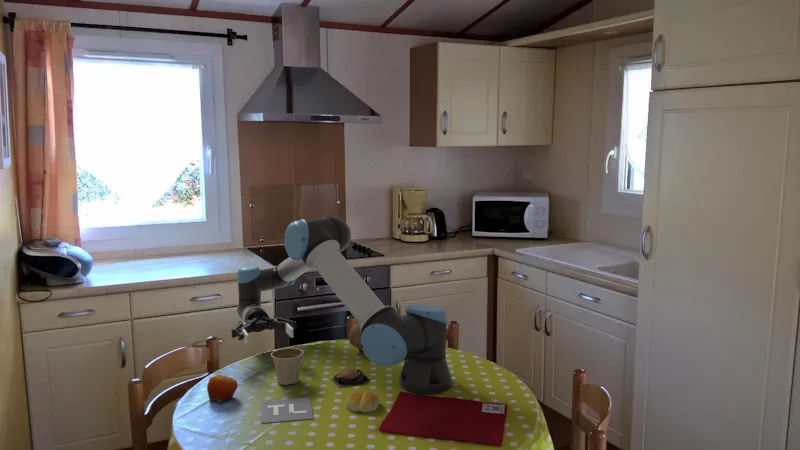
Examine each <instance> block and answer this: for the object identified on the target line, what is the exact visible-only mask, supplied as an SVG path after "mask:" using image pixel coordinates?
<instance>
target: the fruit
mask: <svg viewBox="0 0 800 450" xmlns="http://www.w3.org/2000/svg"><path fill="white" fill-rule="evenodd" d="M238 386H239V384H238V381H237V380H236V379H234V378H233V377H231V376H227V375H223V374H216V375H214V376H211V377H210V378H209V379H208V381H207V385H206V391H207V395H208V399H209V402H212V401H216V402H218V403H219V405H220V406H222V405H221V404H222V402H225V401H229V400H230V399H232V397H233V396H234V395H235V392H236V391H237V389H238Z"/></svg>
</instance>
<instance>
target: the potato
mask: <svg viewBox="0 0 800 450" xmlns="http://www.w3.org/2000/svg"><path fill="white" fill-rule="evenodd" d="M360 328H361V325H360V324H359V323H358V322H357V323H356V324H354V325H353V326H352V327H351V328H350V330H349V332H348V341H349V343H350V345H351V346H353V347H355V348H357V349H358V350H359V351H361V352H364V351H363V349H362V348H363V345H362V344H361V336H362V335H361V334H360Z"/></svg>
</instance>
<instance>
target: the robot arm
mask: <svg viewBox="0 0 800 450" xmlns="http://www.w3.org/2000/svg"><path fill="white" fill-rule="evenodd" d="M351 239H352V233H351V229H350V226H349V225H348V223H347V222H346V221H345V220H344V219H341V218H340V217H338V216H324V217H316V218H306V219H303V218H302V219H299V220H295V221H292V222H291V223H290V224H288V226H287V228H286V231H285V233H284V248H285V251H286V253H287V255H288V257H287V258H286V259H284V260H283V261H282V262H280V263H279V264H277V266H275V267H270V268H266V269H265V268H264V269H260V267H259V266H257V265H245V266H240V267H239V268H238V269H237V279H236V280H237V287H238V288H237V289H238V290H237V291H238V304H237V307H236V310H237V314H238V316H239V318H240V319H241V320H238V321H237V323H236V325H234V326H233V328H232V329H231V338H232V339H235V338H237V341H242V340H243V342H244V343H245V345H249V344H250V338H249V337H250V335H249V334H250V333H260V332H264V331H265V330H270V331H272V330H280V331H285V332H286V334H287V335H288V336H289V338H291V339H292V338H295V337H294V332H295V331H296V330H297V321H294V320H291V319H287V318H284V317H281V316H276V317H275V319H274V318H271V317H270V315H269V314H268V313H267V312H266V310H264V308H263V307H262V299H261V298H262V292H266V291H271V290H276V289H281V288H287V287H289V286H292V285H294V284H296V281H297V278H299V277H301V275H303V274H305V273H306V272H308V271H309V270H316V271H317V272H318V273H319V275H320V276H321V278H323V281H325V282H326V283H327V285H328V286H329V288H330V289H331V290H332V291H333V292H334V294H335V295H336V296H337V298H339V300H340V301H341V302H342V304H343V305H344V306H345V308H346V309H347V310H348V311H349V312H350V314H351V315H352V316H353V317H354V319H355V320H356V321H357V323H359V324H360V325H361V328H360V334H361V335H362V336H361V344H362V345H363V348H362V349H363V351H362V352H363V353H364V355H365V357H366V358H367V359H368V360H369V361H371V362H372V363H373V364H375V365H376V366H379V367H390V366H393V365H398V364H400V363H402V362H403V365H402V368H401V370H400V374H399V386H400V387H401V388H402V389H403V390H405V391H408V392H410V393H415V394H421V395H431V394H438V393H442V392H446V391H447V390H449V389H450V388H451V387H452V374H451V371H450V368H449V365H448V361H447V325H448V322H447V312H446V311H445V310H444V309H443V308H441V307H439V306H434V305H431V304H430V305H428V304H409V305H407V306H405V307H406V309H405V314H404V315H400V314H399V312H398V311H397V310H396V309H395V308H394V306H392V305H384V303H383V302H382V301H381V300H380V299H379V297H378V296H377V295H376V293H374V291H373V290H372V289H371V288H370V287H369V285H368V284H367V283H366V282H365V280H364V279H363V277H361V276H360V274H359V273H358V272H357V271H356V270H355V268H354V267H353V266H352V265H351V263H350V262H349V261H348V260H347V258H345V257H344V255H343V254H342V252H343V251H345V250H346V249H347V248H348V246H349V245H350V242H351Z"/></svg>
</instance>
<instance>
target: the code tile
mask: <svg viewBox="0 0 800 450" xmlns="http://www.w3.org/2000/svg"><path fill="white" fill-rule="evenodd" d="M305 420H307V421H308V420H314V414H313V405H312V399H311V397H310V396H309V397H308V396H307V397H297V398H284V399H273V400H272V399H271V400H261V419H260V424H273V423H283V422H295V421H297V422H298V421H305Z"/></svg>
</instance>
